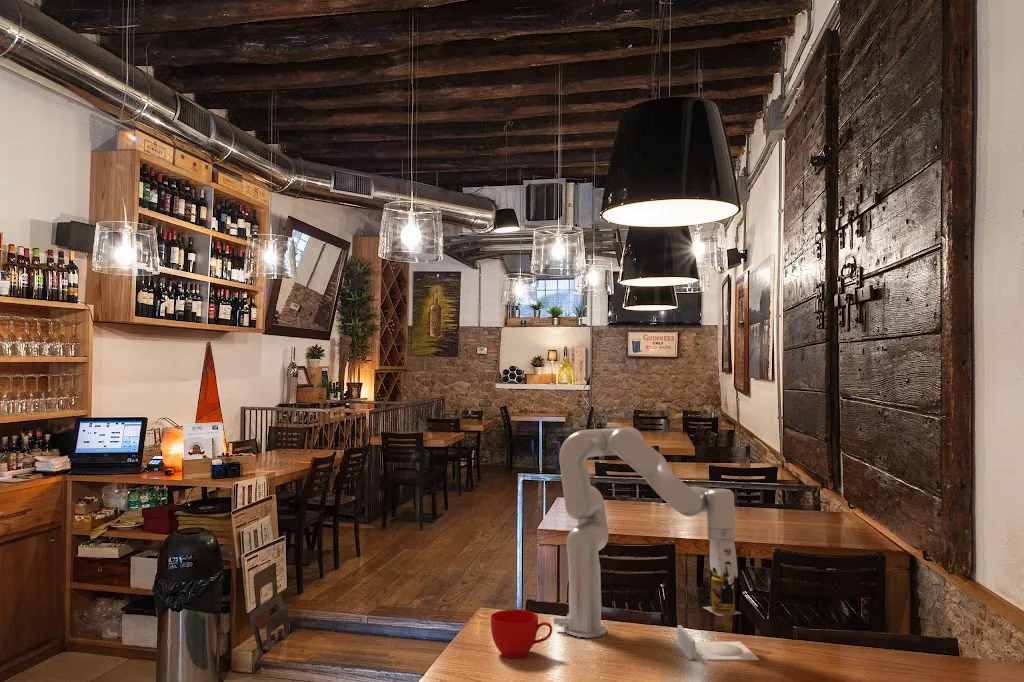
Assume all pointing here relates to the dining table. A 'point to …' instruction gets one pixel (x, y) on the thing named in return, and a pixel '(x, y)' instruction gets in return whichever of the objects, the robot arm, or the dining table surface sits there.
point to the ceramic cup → (516, 632)
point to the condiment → (716, 597)
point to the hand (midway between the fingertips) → (723, 599)
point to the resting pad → (724, 651)
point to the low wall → (686, 644)
